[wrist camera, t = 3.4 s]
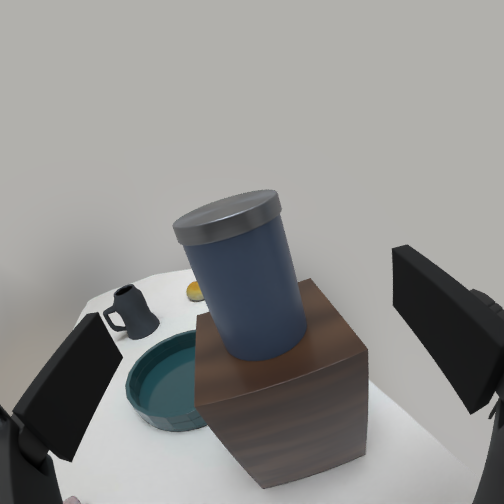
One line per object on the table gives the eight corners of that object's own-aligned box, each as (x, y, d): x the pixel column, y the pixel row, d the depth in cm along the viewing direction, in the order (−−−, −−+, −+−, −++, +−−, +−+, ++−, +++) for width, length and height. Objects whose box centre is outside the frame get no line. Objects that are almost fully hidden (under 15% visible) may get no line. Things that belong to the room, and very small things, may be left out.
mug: (155, 313, 69) (137, 277, 65) (163, 327, 62) (142, 287, 58) (117, 333, 64) (97, 297, 61) (120, 349, 57) (97, 310, 53)
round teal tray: (257, 415, 33) (249, 399, 32) (129, 437, 32) (115, 423, 31) (240, 333, 52) (233, 317, 51) (146, 359, 51) (137, 344, 50)
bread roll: (186, 294, 75) (181, 282, 74) (215, 281, 78) (210, 269, 77) (191, 306, 68) (185, 293, 67) (223, 292, 70) (218, 278, 69)
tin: (322, 342, 18) (290, 197, 15) (225, 374, 18) (164, 238, 15) (294, 296, 25) (265, 185, 22) (220, 321, 25) (178, 213, 21)
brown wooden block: (365, 454, 22) (368, 349, 16) (263, 489, 22) (194, 406, 16) (331, 388, 34) (310, 277, 28) (248, 416, 33) (196, 315, 27)
